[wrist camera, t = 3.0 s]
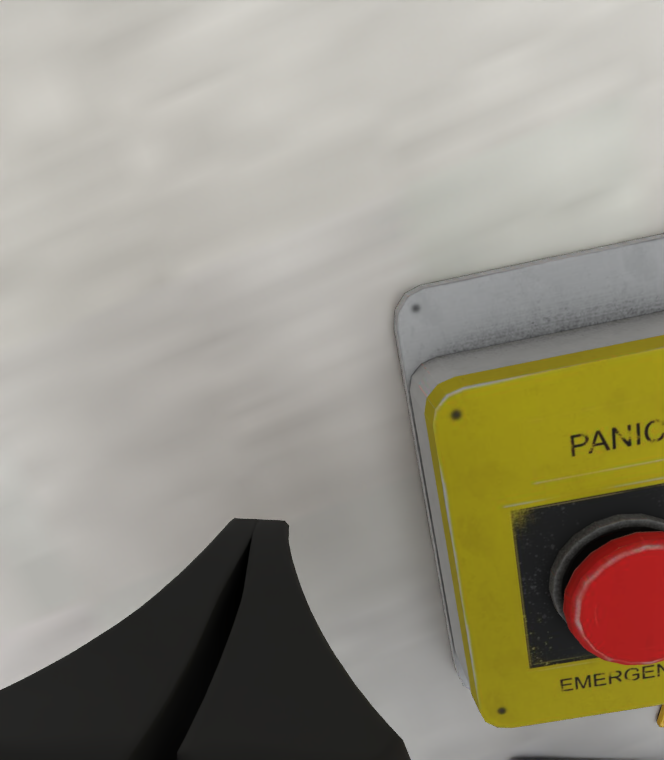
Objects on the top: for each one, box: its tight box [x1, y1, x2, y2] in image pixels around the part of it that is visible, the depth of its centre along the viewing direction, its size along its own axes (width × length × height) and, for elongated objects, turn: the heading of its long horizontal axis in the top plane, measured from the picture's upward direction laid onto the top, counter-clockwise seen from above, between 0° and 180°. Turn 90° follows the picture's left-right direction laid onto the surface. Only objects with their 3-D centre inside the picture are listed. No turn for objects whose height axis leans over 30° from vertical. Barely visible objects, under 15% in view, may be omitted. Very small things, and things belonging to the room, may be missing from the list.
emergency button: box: [394, 234, 664, 728], centre depth 14 cm, size 9×4×15 cm
